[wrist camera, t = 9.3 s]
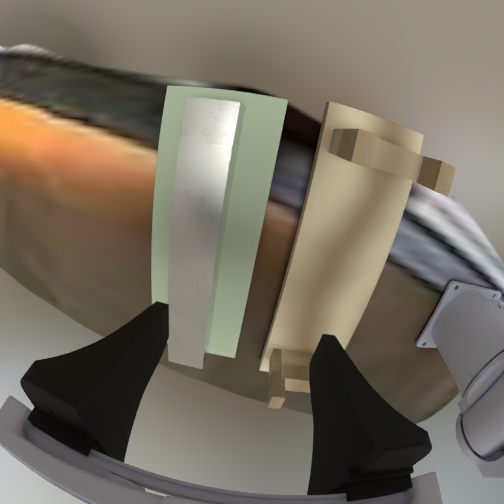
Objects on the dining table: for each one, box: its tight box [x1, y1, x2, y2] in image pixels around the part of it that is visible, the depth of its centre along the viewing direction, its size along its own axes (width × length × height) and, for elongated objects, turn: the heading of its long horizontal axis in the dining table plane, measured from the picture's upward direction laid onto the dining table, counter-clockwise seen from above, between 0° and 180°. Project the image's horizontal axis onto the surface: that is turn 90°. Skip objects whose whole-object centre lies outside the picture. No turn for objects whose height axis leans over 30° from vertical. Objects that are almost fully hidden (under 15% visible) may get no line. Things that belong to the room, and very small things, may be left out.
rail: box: [168, 97, 246, 369], centre depth 19 cm, size 20×3×3 cm, turn 170°
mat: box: [151, 86, 288, 358], centre depth 20 cm, size 8×22×1 cm, turn 170°
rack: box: [259, 101, 455, 408], centre depth 18 cm, size 7×23×6 cm, turn 170°
